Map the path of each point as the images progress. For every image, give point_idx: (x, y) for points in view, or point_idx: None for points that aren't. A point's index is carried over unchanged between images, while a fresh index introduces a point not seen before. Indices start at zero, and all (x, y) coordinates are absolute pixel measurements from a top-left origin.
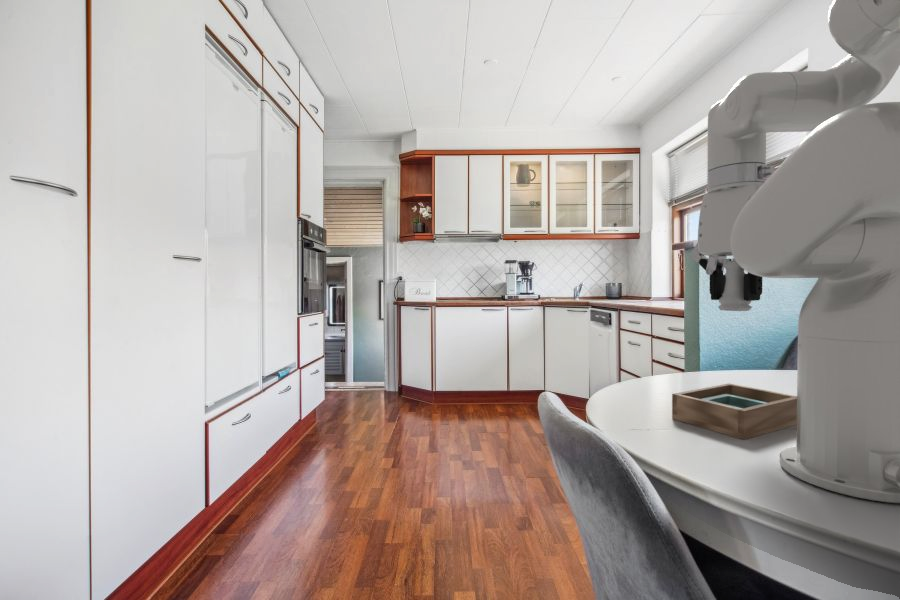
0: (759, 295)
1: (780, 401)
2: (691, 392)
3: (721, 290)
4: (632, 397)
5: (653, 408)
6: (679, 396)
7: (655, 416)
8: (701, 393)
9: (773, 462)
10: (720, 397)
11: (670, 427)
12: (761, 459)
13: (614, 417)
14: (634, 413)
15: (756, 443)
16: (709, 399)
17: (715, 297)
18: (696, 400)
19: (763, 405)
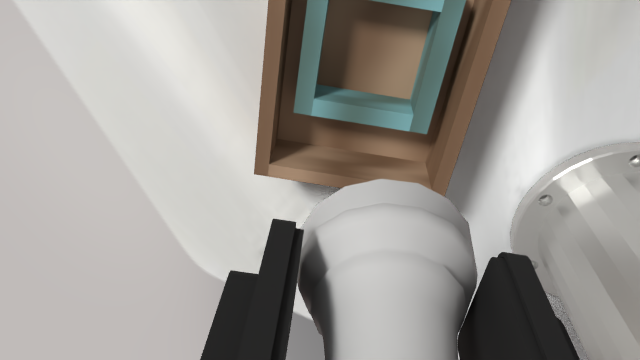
0: (532, 277)
1: (491, 40)
2: (273, 119)
3: (291, 316)
4: (62, 27)
5: (181, 92)
6: (276, 176)
7: (231, 152)
8: (279, 70)
9: (500, 239)
10: (322, 38)
11: (298, 198)
12: (482, 239)
13: (189, 219)
14: (189, 165)
15: (456, 170)
16: (313, 87)
17: (290, 326)
18: (323, 183)
19: (463, 122)
